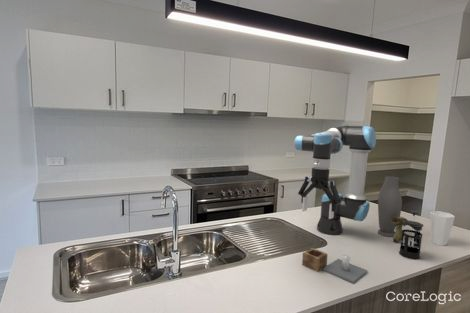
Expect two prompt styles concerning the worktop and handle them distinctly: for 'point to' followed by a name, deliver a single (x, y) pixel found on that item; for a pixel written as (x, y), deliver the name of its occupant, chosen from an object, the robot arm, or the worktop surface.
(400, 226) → the mushroom
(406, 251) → the french press
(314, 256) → the collar
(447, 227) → the cup
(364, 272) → the grey plate with knob
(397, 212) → the vase
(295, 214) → the worktop surface
